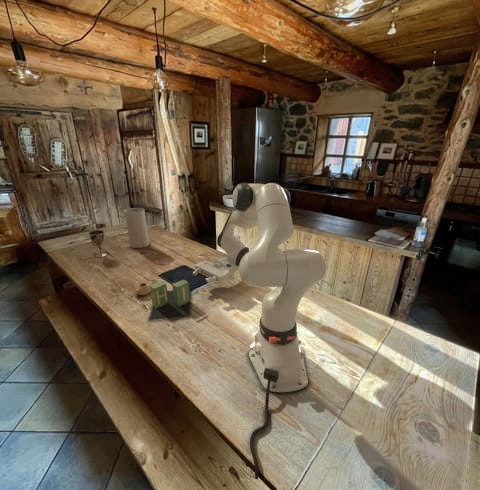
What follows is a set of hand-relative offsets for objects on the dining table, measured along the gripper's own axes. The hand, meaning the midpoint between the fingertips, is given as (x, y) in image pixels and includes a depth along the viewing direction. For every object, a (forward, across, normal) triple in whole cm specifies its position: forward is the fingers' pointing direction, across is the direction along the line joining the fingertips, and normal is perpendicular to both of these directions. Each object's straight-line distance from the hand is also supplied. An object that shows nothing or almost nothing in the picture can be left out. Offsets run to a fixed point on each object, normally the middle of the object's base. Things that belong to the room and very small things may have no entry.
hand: (199, 277), depth 124 cm
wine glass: (+13, -83, +9) cm, 85 cm away
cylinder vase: (-12, -80, +9) cm, 82 cm away
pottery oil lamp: (+16, -20, +10) cm, 28 cm away
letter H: (+18, -6, +9) cm, 21 cm away
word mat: (+14, -3, +9) cm, 17 cm away
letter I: (+11, 0, +9) cm, 14 cm away
